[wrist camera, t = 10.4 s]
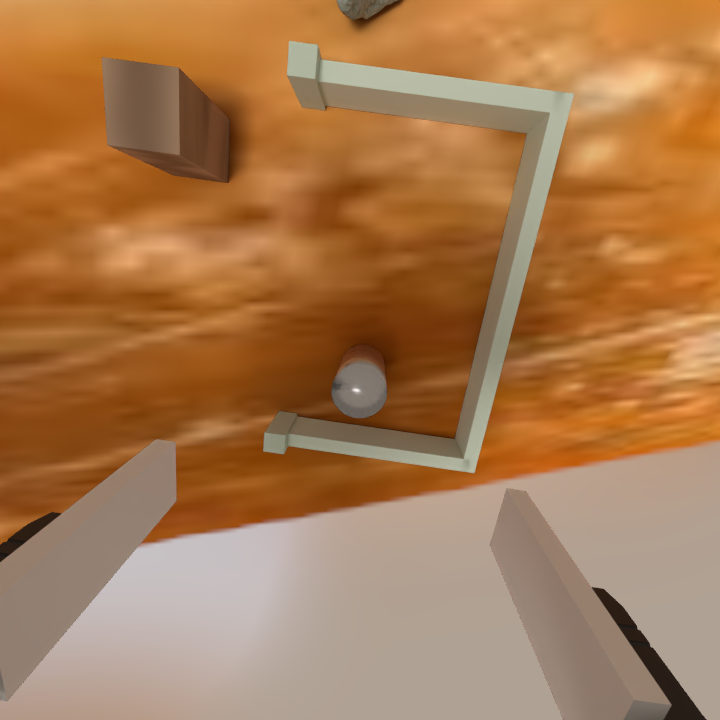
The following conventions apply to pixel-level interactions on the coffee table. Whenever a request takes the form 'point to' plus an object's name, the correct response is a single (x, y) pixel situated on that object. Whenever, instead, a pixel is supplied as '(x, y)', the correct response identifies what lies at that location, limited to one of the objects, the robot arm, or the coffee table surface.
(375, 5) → the decorative stone
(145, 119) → the walnut block
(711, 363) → the coffee table surface
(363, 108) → the bay
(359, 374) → the metal cylinder
